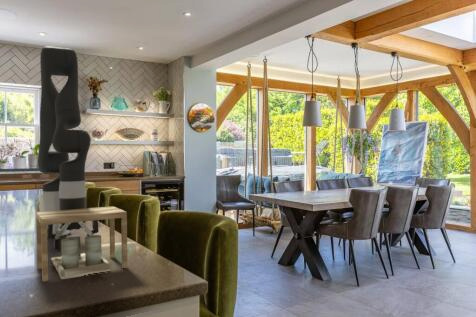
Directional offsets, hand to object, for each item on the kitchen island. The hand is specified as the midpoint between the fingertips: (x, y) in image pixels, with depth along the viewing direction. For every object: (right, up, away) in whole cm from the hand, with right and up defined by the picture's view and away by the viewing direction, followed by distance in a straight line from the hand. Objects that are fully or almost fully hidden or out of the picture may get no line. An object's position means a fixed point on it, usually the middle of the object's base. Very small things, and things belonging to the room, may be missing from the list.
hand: (73, 249), depth 121 cm
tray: (+5, -3, -8) cm, 10 cm away
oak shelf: (+7, -3, -11) cm, 13 cm away
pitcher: (-34, -2, +58) cm, 67 cm away
